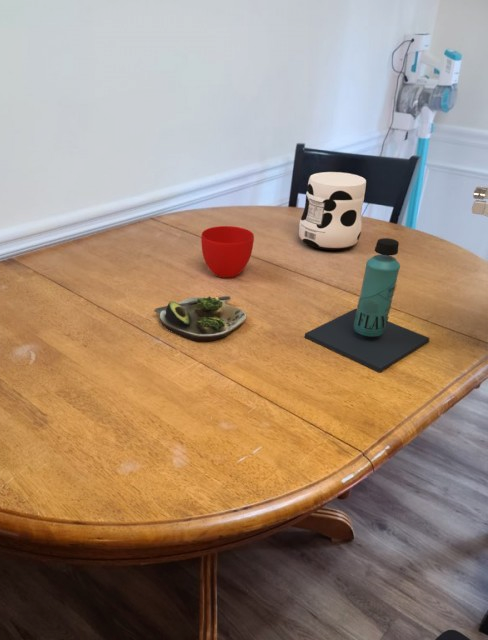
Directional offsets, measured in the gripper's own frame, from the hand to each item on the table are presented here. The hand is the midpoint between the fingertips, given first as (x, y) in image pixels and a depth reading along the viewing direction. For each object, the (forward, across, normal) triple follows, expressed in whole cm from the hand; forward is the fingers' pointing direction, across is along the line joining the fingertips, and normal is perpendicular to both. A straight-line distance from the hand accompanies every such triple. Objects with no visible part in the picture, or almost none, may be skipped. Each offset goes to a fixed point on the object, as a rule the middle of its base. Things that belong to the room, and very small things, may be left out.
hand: (473, 199), depth 95 cm
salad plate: (+46, -7, -30) cm, 56 cm away
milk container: (+32, +53, -30) cm, 69 cm away
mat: (+12, 0, -30) cm, 32 cm away
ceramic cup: (+51, +22, -30) cm, 64 cm away
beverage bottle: (+12, 0, -29) cm, 32 cm away
